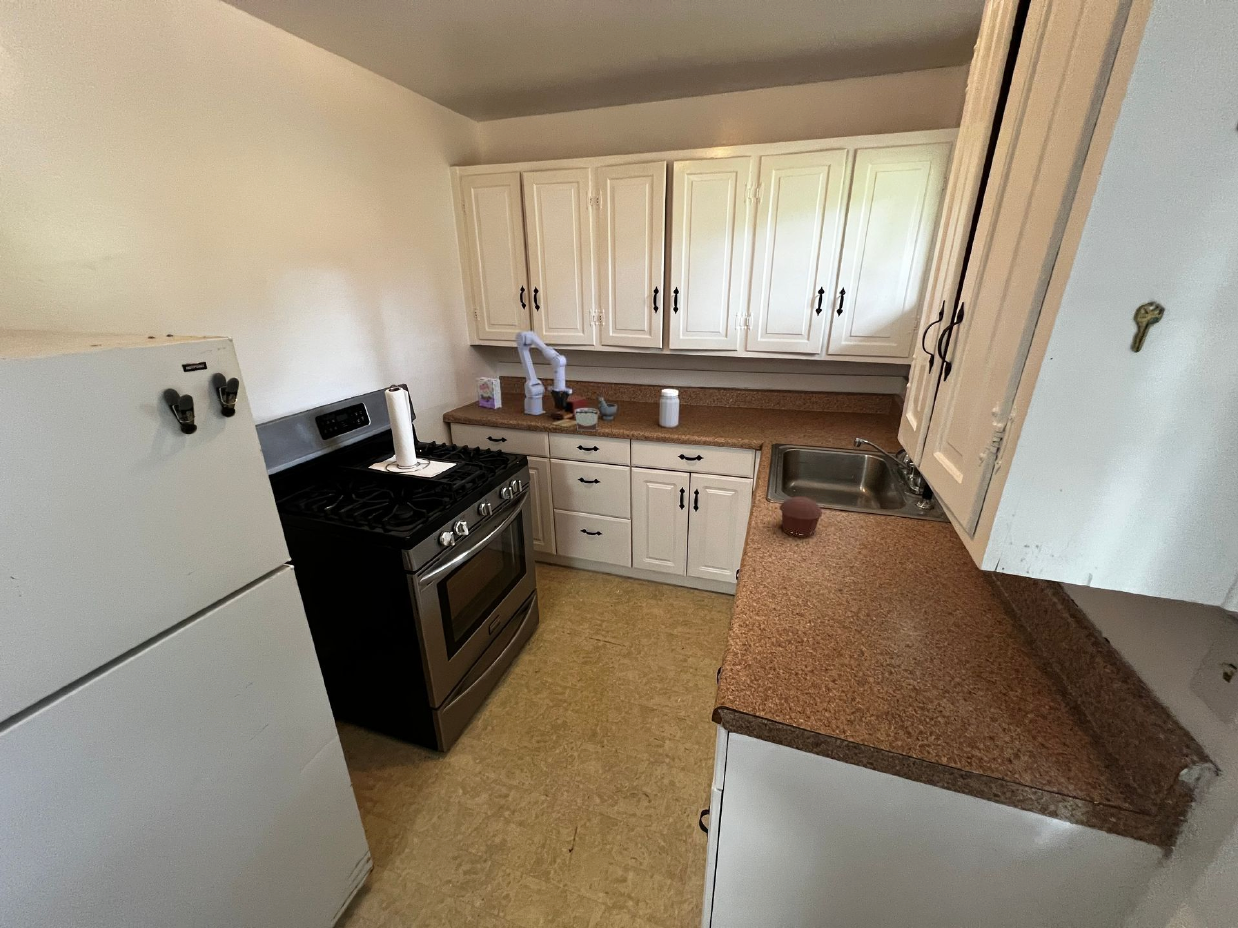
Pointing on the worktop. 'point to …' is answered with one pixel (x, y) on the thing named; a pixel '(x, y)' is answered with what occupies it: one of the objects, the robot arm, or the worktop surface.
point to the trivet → (565, 423)
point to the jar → (669, 408)
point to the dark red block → (574, 404)
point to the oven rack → (561, 414)
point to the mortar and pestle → (607, 409)
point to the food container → (586, 418)
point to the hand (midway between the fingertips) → (560, 405)
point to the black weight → (559, 402)
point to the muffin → (800, 516)
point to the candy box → (489, 392)
